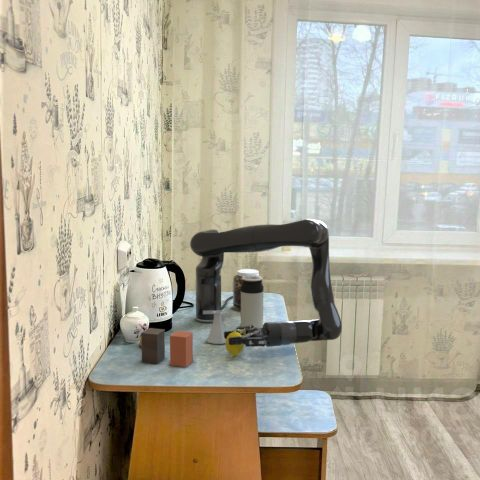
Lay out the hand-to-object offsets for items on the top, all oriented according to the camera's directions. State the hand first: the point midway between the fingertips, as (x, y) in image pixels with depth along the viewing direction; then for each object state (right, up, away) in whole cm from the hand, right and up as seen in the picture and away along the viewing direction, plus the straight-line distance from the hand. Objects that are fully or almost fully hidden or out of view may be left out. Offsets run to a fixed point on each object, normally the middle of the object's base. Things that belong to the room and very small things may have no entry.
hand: (226, 338), depth 181 cm
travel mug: (+5, -1, +32) cm, 32 cm away
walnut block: (-21, -6, -3) cm, 22 cm away
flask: (-5, -4, +16) cm, 17 cm away
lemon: (+2, -6, +2) cm, 7 cm away
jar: (+1, +3, +56) cm, 56 cm away
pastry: (-25, -4, +9) cm, 27 cm away
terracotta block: (-13, -7, -5) cm, 15 cm away
